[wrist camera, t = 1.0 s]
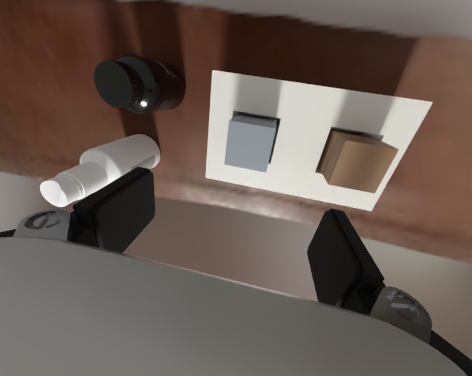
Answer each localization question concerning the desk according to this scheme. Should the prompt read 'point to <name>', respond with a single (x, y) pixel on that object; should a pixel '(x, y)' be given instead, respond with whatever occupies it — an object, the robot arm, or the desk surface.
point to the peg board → (305, 132)
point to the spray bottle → (101, 168)
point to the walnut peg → (355, 160)
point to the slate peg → (250, 142)
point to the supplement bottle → (139, 84)
